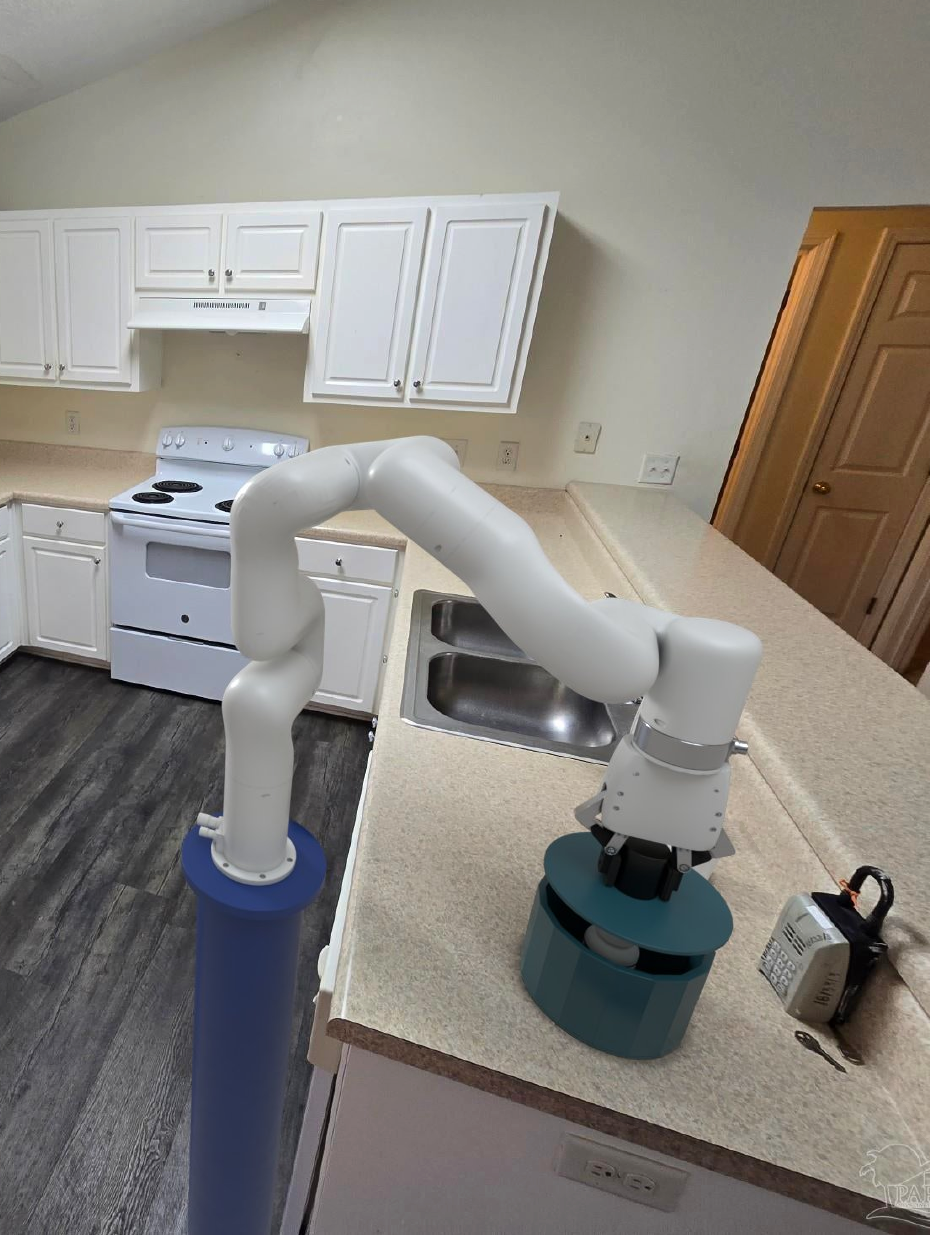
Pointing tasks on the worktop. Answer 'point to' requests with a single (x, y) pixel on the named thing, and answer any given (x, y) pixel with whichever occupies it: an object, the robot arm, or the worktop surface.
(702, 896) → the lid
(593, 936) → the pill bottle
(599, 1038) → the pot
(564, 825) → the worktop surface
